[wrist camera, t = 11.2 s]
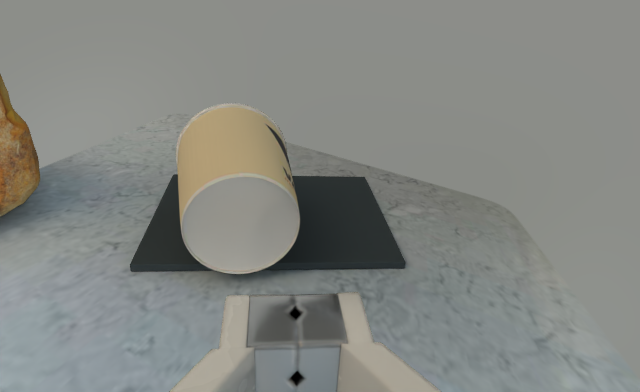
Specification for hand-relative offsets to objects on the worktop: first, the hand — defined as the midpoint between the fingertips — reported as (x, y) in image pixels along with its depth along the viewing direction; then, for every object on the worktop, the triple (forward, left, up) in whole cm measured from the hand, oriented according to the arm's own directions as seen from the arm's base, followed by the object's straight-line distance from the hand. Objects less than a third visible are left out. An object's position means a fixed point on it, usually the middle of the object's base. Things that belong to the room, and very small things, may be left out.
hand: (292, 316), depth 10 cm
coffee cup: (+2, -17, -8) cm, 19 cm away
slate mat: (0, -27, -12) cm, 30 cm away
